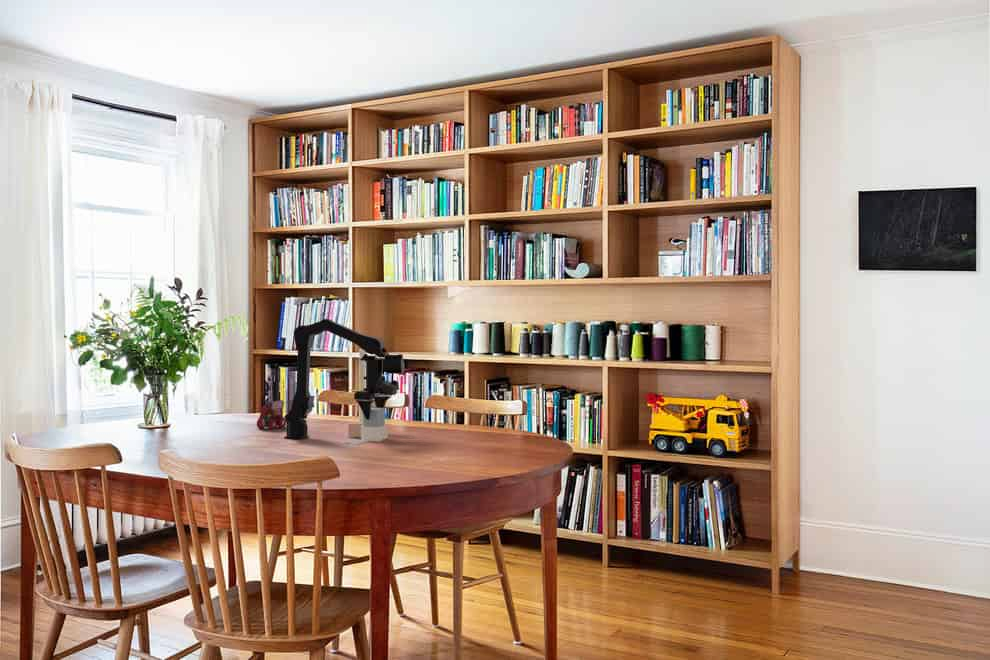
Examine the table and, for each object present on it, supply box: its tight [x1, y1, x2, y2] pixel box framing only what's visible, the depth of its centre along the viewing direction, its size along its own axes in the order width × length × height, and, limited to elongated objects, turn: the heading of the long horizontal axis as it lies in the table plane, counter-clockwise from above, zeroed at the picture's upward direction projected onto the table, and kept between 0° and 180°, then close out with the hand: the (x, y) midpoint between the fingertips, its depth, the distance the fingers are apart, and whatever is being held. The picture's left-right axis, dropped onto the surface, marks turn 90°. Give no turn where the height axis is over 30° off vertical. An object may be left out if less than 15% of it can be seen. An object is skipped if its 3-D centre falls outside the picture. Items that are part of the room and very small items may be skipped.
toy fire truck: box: [256, 399, 287, 431], centre depth 333 cm, size 7×12×10 cm, turn 153°
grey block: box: [363, 407, 386, 427], centre depth 307 cm, size 6×6×6 cm
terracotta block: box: [347, 421, 363, 438], centre depth 314 cm, size 5×5×5 cm
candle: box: [350, 348, 366, 422], centre depth 327 cm, size 10×10×32 cm
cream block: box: [360, 424, 388, 442], centre depth 307 cm, size 7×7×5 cm
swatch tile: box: [341, 438, 368, 445], centre depth 300 cm, size 7×7×1 cm
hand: (374, 418), depth 307 cm, fingers open, 9 cm apart
